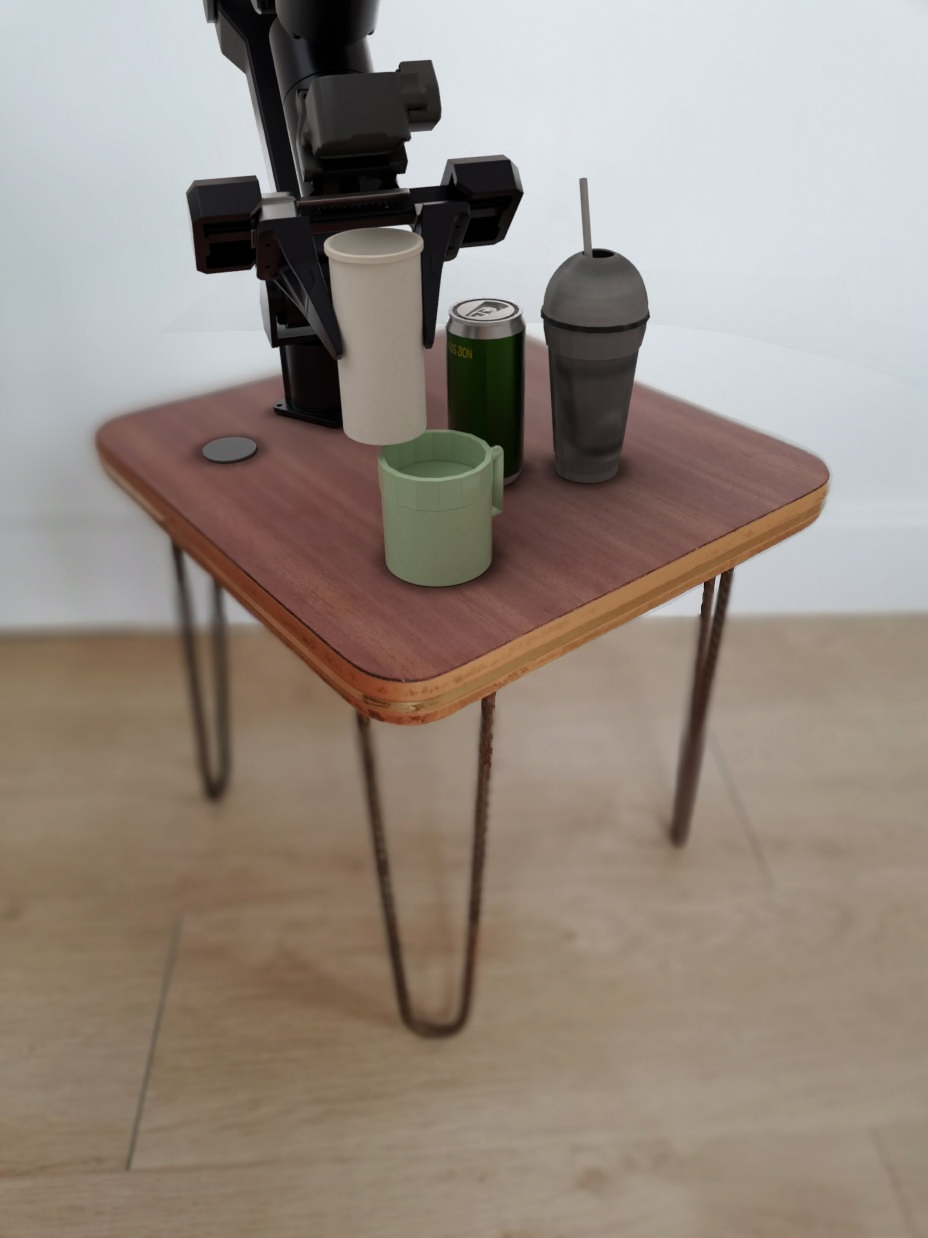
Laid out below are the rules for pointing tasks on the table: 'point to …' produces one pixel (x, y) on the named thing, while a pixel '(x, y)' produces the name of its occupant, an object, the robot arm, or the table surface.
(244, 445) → the coaster
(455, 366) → the beer can
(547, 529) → the table surface
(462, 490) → the mug
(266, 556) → the table surface
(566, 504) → the table surface
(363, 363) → the paper cup
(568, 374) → the beverage cup
